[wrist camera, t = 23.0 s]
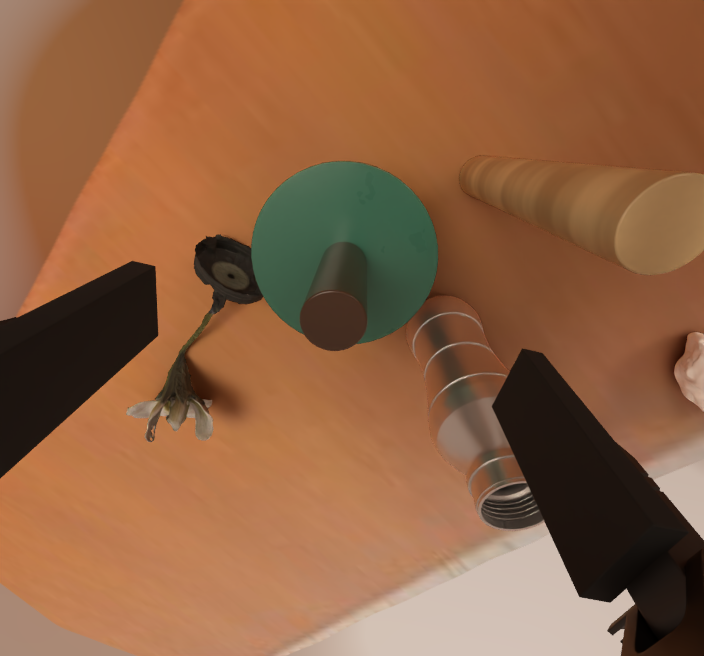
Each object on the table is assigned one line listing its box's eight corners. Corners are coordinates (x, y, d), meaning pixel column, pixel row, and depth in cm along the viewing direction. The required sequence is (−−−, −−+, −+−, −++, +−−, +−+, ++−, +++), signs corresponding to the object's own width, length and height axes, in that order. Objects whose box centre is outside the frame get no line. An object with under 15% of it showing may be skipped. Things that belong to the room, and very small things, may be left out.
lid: (450, 167, 20) (509, 182, 12) (419, 342, 25) (445, 436, 17) (250, 153, 20) (170, 158, 12) (261, 330, 25) (211, 418, 17)
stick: (501, 157, 28) (749, 176, 10) (492, 197, 29) (693, 279, 11) (463, 154, 28) (641, 168, 10) (455, 194, 29) (599, 272, 11)
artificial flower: (299, 269, 34) (299, 343, 26) (205, 396, 45) (186, 473, 37) (207, 220, 29) (176, 291, 22) (128, 374, 40) (90, 455, 33)
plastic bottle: (392, 306, 34) (422, 485, 16) (460, 276, 32) (578, 437, 14) (418, 358, 36) (469, 561, 18) (482, 332, 35) (606, 527, 17)
